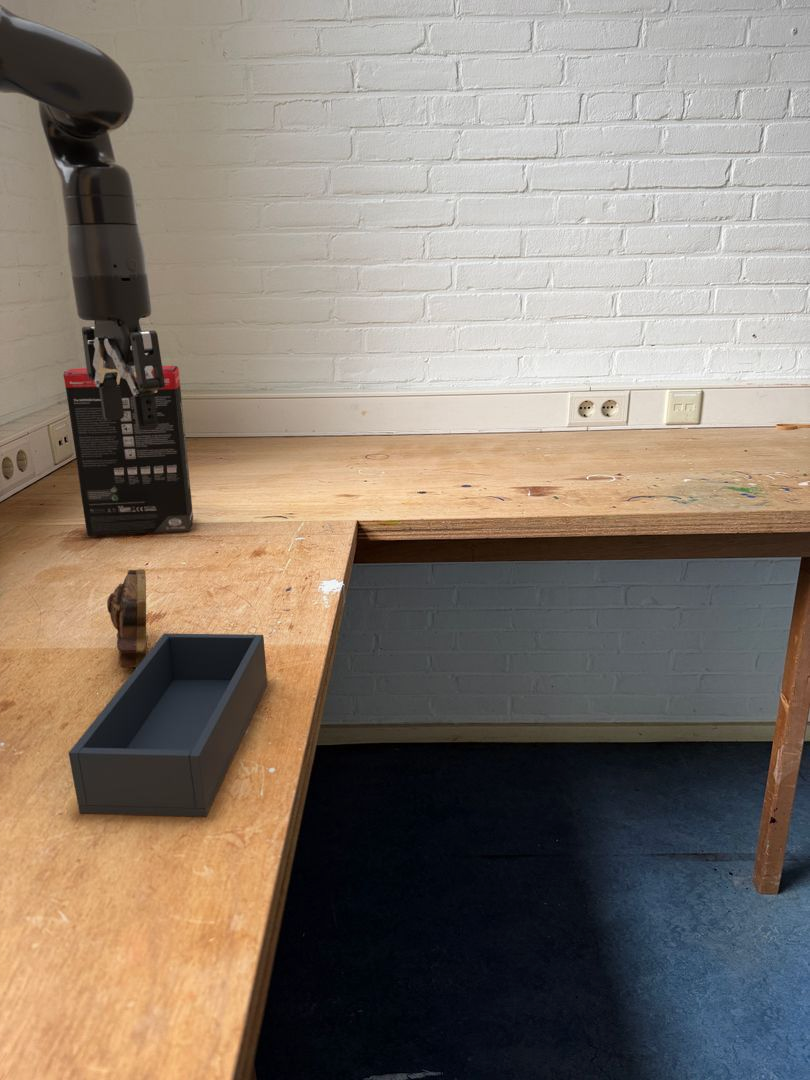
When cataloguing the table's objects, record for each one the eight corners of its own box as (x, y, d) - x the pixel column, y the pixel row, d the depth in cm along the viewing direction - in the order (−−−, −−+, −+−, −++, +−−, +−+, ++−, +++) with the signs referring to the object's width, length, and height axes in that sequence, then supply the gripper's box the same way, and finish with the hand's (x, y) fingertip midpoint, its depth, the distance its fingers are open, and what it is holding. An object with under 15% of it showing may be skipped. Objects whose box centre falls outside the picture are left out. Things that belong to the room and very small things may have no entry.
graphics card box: (196, 520, 140) (179, 362, 131) (193, 533, 133) (174, 367, 124) (94, 527, 137) (69, 366, 128) (86, 540, 131) (59, 372, 122)
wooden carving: (112, 633, 97) (100, 556, 94) (151, 626, 99) (141, 550, 95) (119, 696, 83) (106, 608, 79) (165, 688, 84) (154, 601, 81)
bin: (79, 813, 65) (67, 752, 63) (170, 682, 85) (163, 633, 84) (206, 817, 64) (199, 755, 62) (267, 683, 85) (263, 634, 83)
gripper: (48, 273, 87) (72, 421, 92) (102, 272, 77) (126, 438, 82) (115, 271, 92) (134, 412, 97) (174, 270, 82) (192, 427, 87)
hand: (130, 424), depth 89 cm, fingers open, 8 cm apart
